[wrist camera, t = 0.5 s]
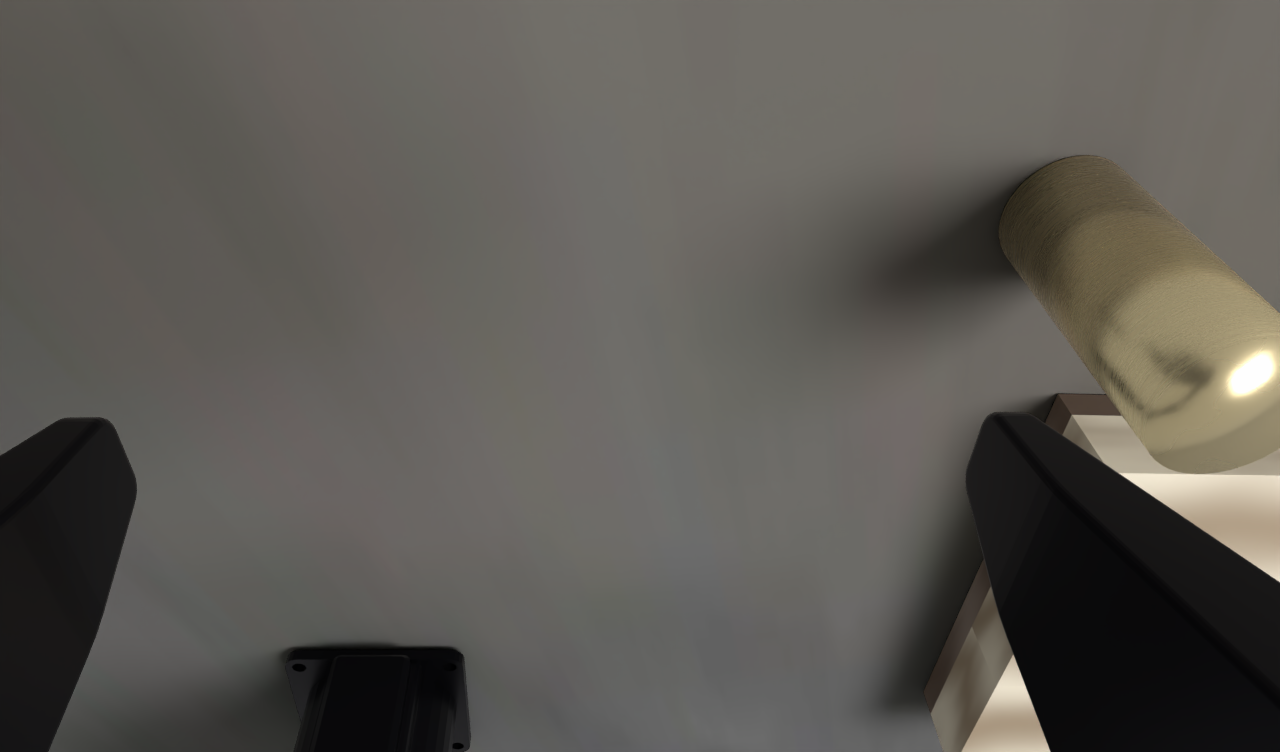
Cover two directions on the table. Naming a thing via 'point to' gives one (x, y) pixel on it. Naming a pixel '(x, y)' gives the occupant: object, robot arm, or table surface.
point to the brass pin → (1150, 314)
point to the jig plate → (977, 645)
